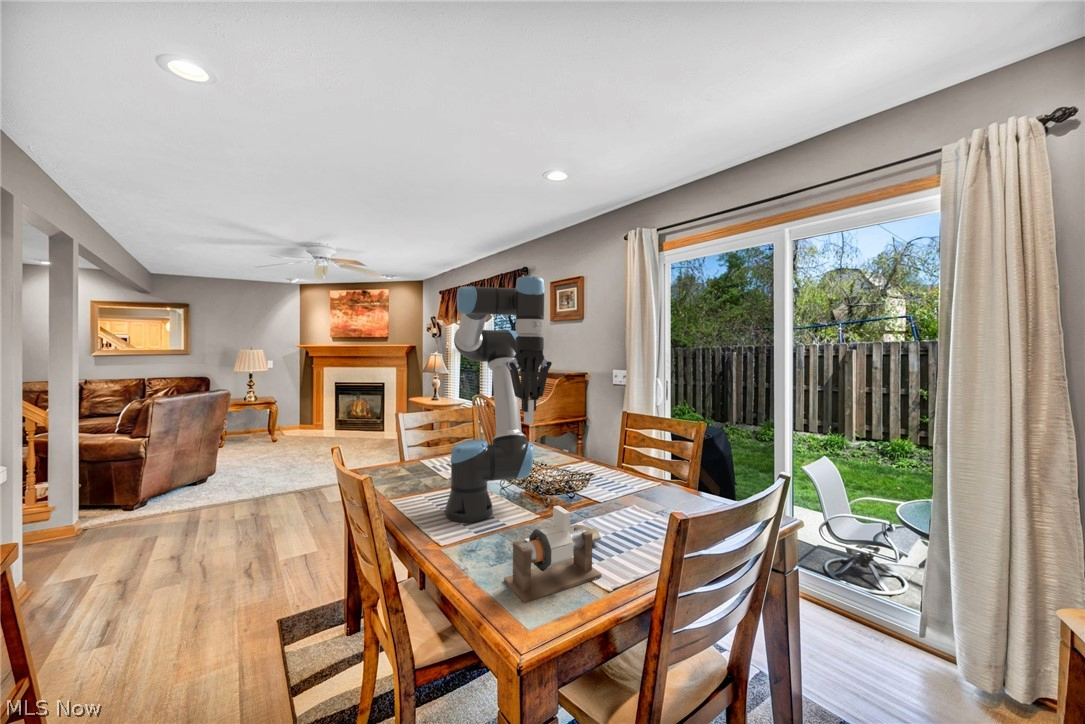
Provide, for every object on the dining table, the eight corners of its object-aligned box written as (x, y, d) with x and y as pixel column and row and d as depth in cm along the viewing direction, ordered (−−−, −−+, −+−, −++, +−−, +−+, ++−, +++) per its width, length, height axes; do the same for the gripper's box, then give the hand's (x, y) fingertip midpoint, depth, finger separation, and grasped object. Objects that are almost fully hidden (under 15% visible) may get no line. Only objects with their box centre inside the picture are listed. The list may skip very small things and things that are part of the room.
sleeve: (554, 552, 109) (555, 503, 109) (573, 567, 102) (573, 514, 102) (533, 558, 106) (534, 507, 105) (551, 573, 99) (551, 519, 99)
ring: (533, 559, 106) (533, 524, 106) (551, 575, 99) (552, 538, 99) (528, 560, 106) (528, 525, 105) (546, 577, 98) (546, 539, 98)
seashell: (549, 542, 124) (550, 532, 124) (575, 529, 133) (575, 519, 132) (583, 556, 116) (583, 545, 116) (608, 541, 125) (608, 531, 125)
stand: (577, 559, 114) (578, 521, 114) (601, 577, 105) (602, 536, 105) (504, 580, 103) (504, 539, 103) (524, 602, 95) (524, 557, 94)
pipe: (579, 542, 111) (579, 525, 110) (589, 550, 107) (590, 532, 107) (515, 560, 101) (515, 541, 101) (524, 568, 98) (524, 549, 97)
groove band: (539, 553, 105) (540, 534, 105) (550, 562, 101) (550, 542, 101) (526, 557, 103) (526, 537, 103) (536, 566, 99) (536, 546, 99)
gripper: (514, 335, 111) (513, 428, 112) (557, 336, 117) (556, 423, 119) (501, 335, 117) (500, 423, 118) (543, 336, 124) (542, 419, 125)
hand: (528, 423), depth 118 cm, fingers closed
